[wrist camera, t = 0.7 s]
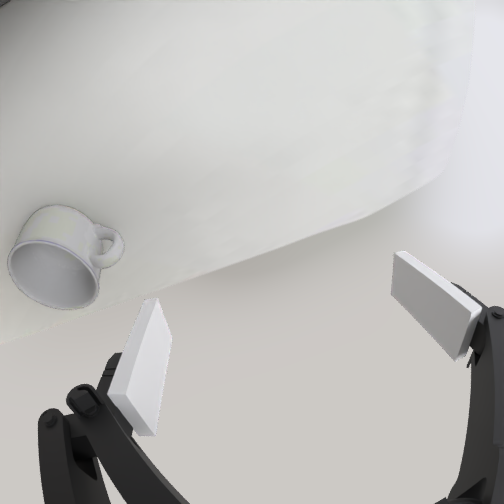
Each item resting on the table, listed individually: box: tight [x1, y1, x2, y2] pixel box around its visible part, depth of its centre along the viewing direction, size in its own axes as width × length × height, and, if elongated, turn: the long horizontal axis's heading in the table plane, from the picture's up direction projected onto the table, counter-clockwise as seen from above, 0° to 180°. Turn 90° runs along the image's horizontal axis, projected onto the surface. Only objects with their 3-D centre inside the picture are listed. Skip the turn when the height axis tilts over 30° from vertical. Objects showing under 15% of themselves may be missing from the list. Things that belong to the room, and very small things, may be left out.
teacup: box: [7, 205, 124, 310], centre depth 25 cm, size 14×11×8 cm
